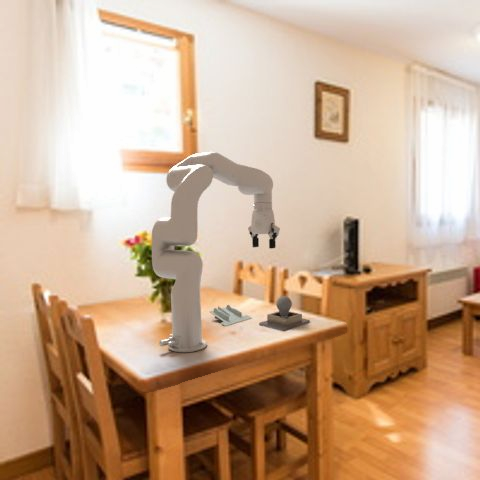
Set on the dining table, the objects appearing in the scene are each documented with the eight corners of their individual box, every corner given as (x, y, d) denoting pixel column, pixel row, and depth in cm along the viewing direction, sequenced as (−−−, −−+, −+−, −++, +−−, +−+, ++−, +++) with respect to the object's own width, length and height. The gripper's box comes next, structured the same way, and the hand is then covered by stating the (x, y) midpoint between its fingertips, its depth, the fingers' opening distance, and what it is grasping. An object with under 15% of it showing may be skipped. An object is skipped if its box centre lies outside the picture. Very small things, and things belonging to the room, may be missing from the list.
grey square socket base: (282, 331, 149) (282, 321, 149) (259, 324, 158) (259, 315, 158) (309, 322, 160) (309, 313, 160) (286, 316, 169) (286, 308, 169)
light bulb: (280, 318, 163) (280, 294, 162) (294, 320, 160) (294, 295, 159) (274, 322, 158) (273, 297, 157) (288, 324, 155) (287, 298, 154)
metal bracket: (204, 307, 165) (231, 301, 176) (202, 320, 167) (228, 313, 178) (228, 323, 156) (255, 315, 167) (225, 336, 158) (252, 328, 168)
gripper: (242, 207, 175) (243, 247, 176) (272, 206, 163) (273, 249, 164) (254, 207, 180) (255, 246, 182) (284, 206, 168) (285, 248, 169)
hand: (263, 247), depth 173 cm, fingers open, 9 cm apart
